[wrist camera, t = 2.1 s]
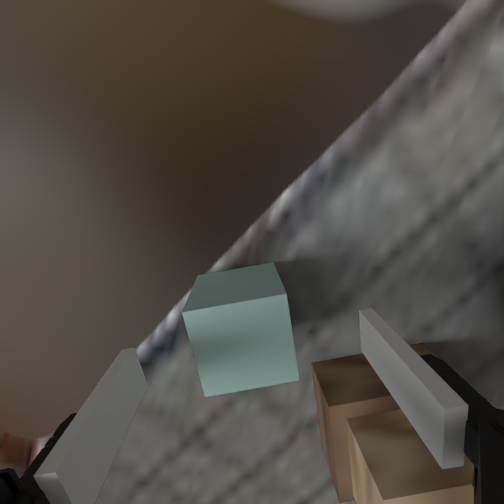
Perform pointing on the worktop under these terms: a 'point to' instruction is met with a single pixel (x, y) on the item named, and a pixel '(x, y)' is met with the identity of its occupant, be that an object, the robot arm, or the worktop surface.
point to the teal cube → (241, 330)
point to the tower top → (401, 465)
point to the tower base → (348, 408)
